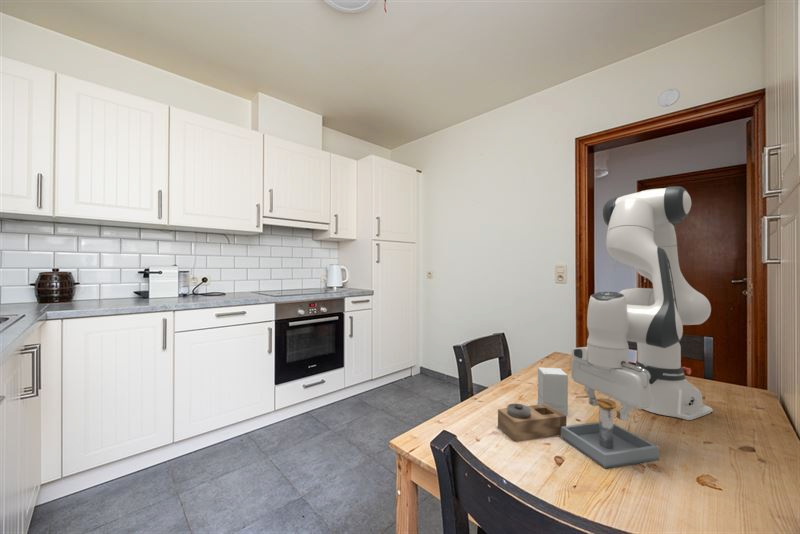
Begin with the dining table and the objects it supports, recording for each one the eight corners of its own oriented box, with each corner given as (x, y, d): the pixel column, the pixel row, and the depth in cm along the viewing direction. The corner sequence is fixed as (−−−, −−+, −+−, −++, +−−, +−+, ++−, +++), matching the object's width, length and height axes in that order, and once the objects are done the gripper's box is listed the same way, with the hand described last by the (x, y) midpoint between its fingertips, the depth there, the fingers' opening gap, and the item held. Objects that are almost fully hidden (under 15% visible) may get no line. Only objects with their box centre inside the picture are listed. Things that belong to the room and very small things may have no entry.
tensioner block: (546, 421, 94) (546, 395, 94) (566, 434, 87) (566, 407, 87) (497, 426, 90) (498, 400, 91) (514, 441, 83) (514, 412, 83)
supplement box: (568, 416, 97) (568, 375, 98) (542, 414, 99) (542, 373, 99) (561, 406, 105) (561, 368, 105) (537, 404, 106) (537, 366, 106)
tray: (608, 431, 88) (608, 420, 89) (658, 459, 75) (658, 446, 75) (560, 438, 85) (561, 426, 85) (605, 468, 72) (605, 455, 72)
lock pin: (605, 440, 83) (605, 397, 83) (619, 448, 79) (619, 404, 79) (593, 442, 82) (593, 399, 82) (606, 450, 78) (606, 405, 78)
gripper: (659, 368, 71) (659, 430, 71) (585, 346, 91) (585, 395, 91) (637, 370, 69) (637, 433, 69) (566, 347, 89) (566, 397, 89)
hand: (607, 411), depth 80 cm, fingers open, 7 cm apart
